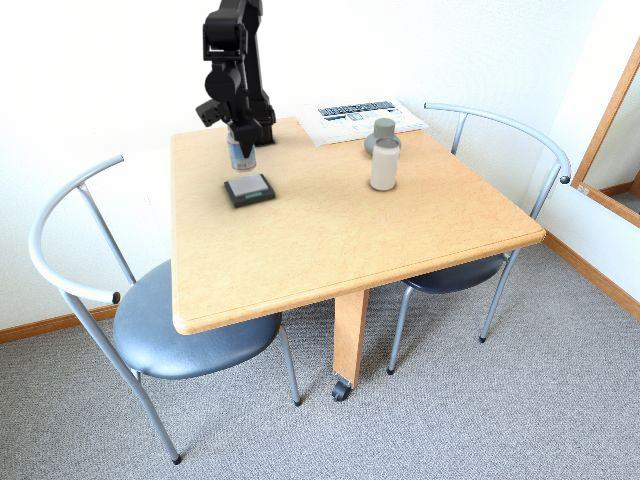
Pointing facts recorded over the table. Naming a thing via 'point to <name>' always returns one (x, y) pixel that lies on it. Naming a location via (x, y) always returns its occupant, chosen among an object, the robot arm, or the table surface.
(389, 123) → the air freshener
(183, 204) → the table surface
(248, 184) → the scale
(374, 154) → the can
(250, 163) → the pill bottle
